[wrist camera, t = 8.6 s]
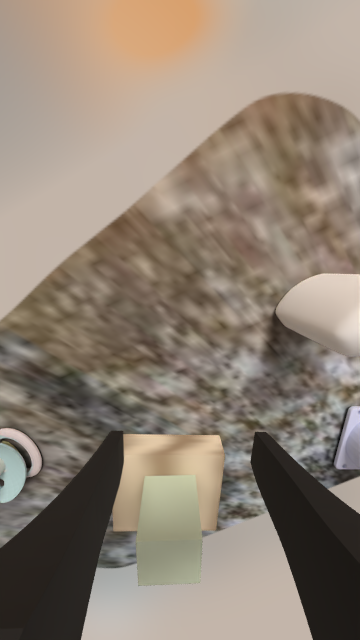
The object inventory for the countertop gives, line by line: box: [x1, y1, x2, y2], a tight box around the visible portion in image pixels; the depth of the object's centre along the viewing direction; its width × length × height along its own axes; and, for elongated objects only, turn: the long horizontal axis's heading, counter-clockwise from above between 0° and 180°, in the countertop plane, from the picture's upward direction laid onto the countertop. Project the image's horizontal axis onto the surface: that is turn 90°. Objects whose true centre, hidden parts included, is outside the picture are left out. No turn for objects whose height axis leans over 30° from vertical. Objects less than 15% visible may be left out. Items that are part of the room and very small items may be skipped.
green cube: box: [136, 475, 202, 586], centre depth 18 cm, size 5×5×5 cm
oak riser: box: [113, 434, 225, 531], centre depth 22 cm, size 11×10×3 cm
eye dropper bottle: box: [275, 274, 360, 357], centre depth 13 cm, size 4×6×12 cm
